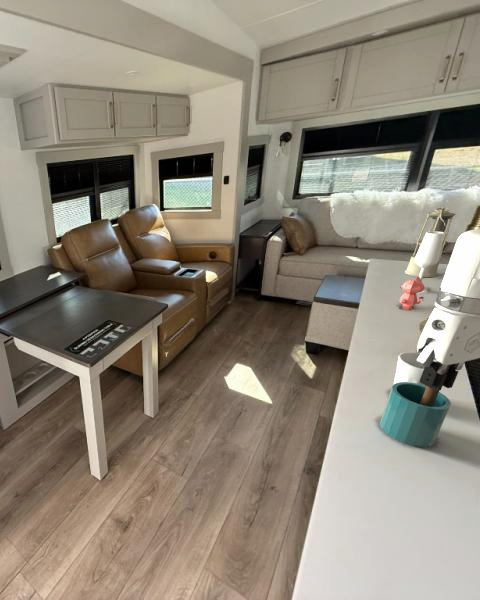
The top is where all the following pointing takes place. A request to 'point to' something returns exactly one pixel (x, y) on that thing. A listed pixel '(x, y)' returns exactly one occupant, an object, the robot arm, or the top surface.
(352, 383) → the top surface
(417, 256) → the champagne flute
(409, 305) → the cat figurine
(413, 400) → the tumbler
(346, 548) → the top surface
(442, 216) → the lamp
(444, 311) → the robot arm
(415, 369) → the cup
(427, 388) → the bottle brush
